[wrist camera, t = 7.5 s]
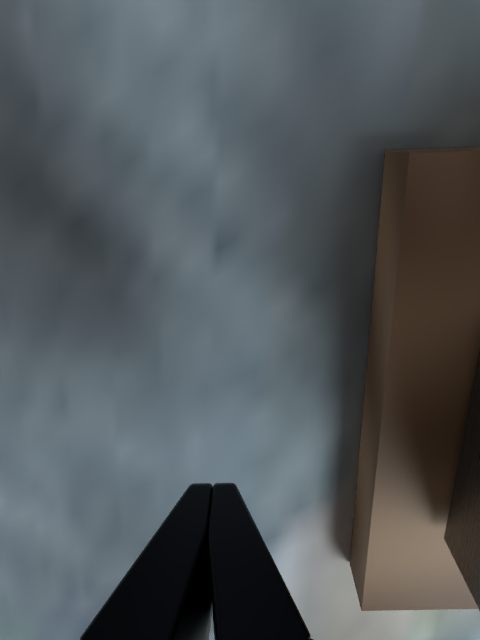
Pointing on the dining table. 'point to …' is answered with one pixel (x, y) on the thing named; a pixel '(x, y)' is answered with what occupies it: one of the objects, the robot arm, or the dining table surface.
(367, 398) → the gauge base
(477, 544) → the grey block with rod
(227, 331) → the dining table surface
